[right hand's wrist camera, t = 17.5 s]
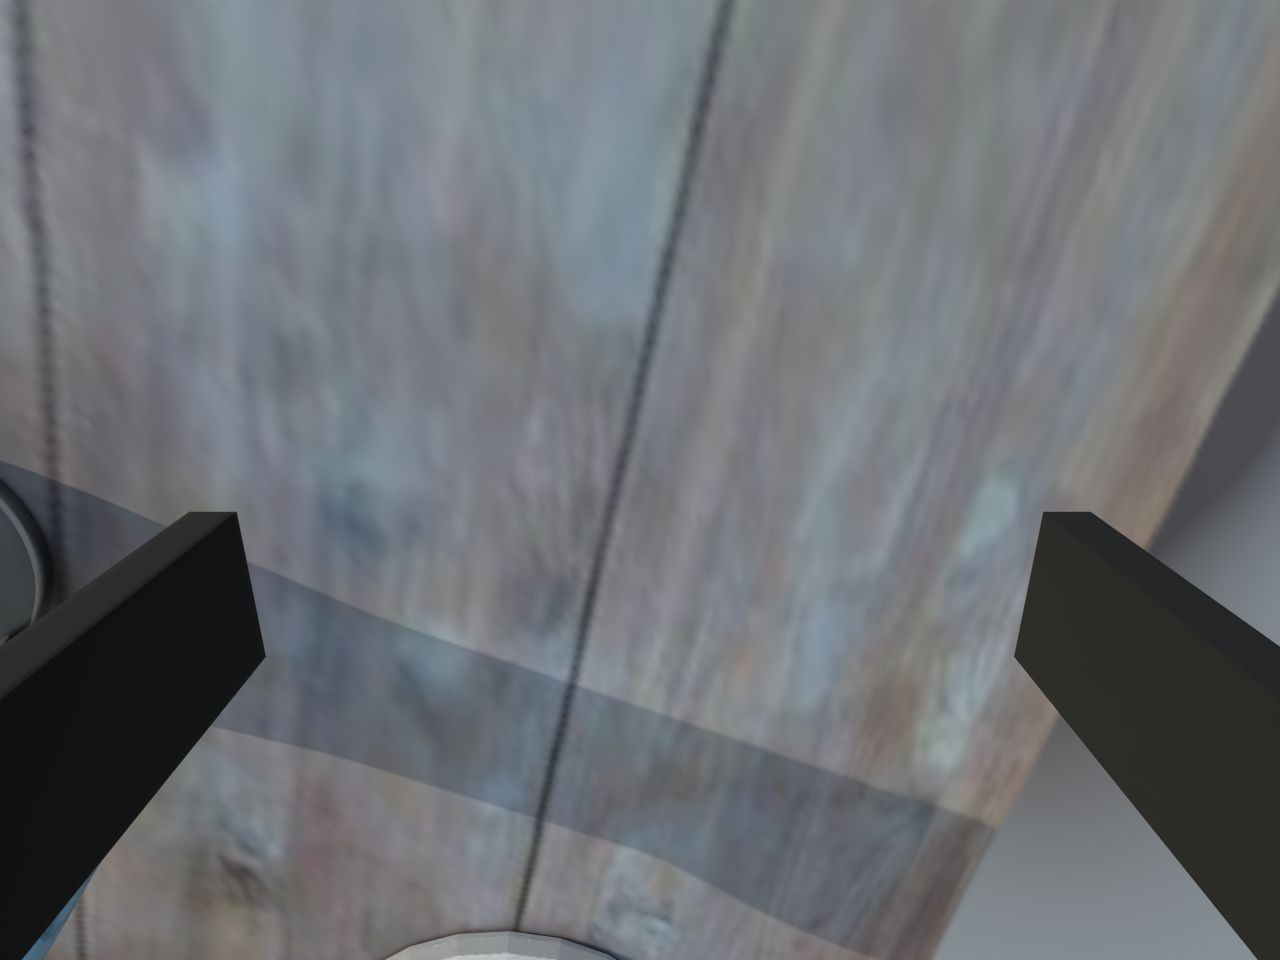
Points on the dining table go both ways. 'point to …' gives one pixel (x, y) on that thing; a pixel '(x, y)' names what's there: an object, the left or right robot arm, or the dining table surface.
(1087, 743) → the right robot arm
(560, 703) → the dining table surface
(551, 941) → the wall clock
